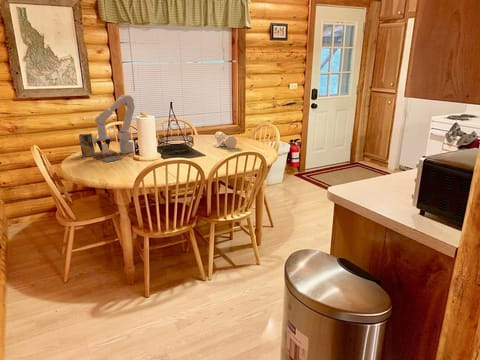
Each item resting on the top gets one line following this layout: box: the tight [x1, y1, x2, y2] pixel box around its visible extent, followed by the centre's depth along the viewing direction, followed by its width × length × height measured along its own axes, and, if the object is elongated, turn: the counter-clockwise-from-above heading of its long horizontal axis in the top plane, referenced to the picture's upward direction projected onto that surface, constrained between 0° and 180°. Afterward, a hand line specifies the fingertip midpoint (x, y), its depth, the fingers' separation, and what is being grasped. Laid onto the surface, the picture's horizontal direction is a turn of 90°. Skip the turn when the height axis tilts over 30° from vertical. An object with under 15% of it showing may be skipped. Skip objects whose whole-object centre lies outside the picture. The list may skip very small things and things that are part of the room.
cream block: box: [101, 143, 110, 154], centre depth 278 cm, size 4×4×8 cm
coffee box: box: [78, 133, 96, 157], centre depth 279 cm, size 9×6×16 cm
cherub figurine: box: [212, 131, 238, 150], centre depth 301 cm, size 13×12×20 cm
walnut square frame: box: [92, 149, 119, 160], centre depth 279 cm, size 14×12×2 cm
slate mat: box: [100, 156, 123, 163], centre depth 270 cm, size 12×10×1 cm
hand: (104, 149), depth 278 cm, fingers closed on cream block, 4 cm apart
